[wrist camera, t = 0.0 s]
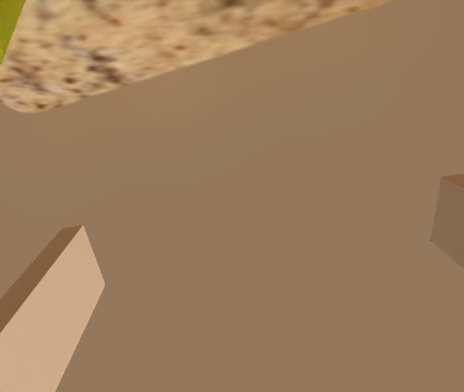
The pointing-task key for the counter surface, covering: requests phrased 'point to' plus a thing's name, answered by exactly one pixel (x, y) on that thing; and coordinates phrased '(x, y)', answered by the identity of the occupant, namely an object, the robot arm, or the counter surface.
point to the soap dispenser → (8, 22)
